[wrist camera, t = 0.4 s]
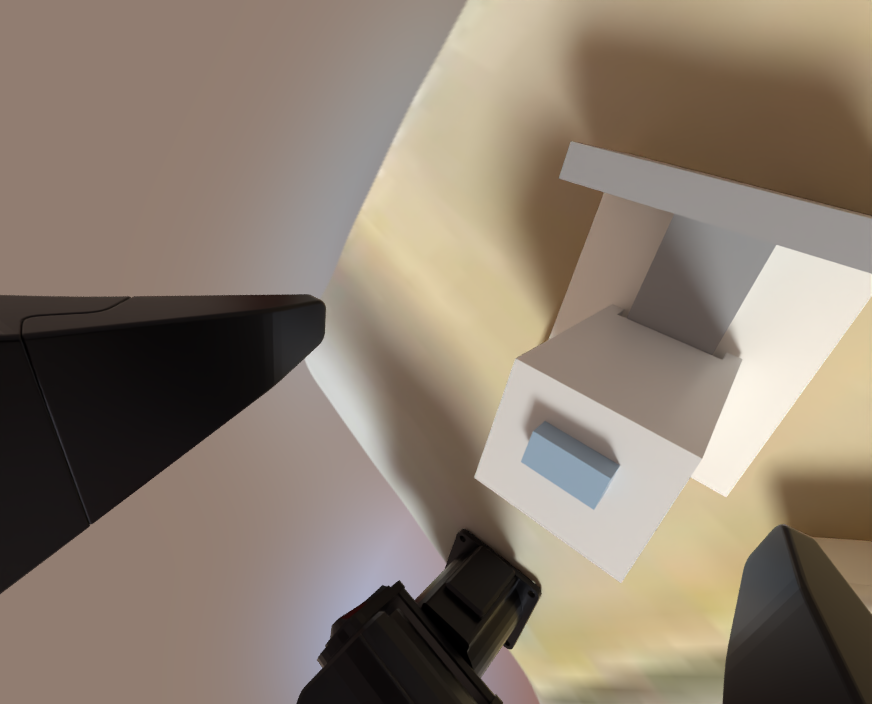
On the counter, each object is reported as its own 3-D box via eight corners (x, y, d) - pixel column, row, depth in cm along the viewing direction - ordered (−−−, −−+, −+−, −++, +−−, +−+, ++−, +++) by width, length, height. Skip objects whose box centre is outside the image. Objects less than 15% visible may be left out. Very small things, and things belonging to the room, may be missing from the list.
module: (683, 453, 21) (612, 601, 13) (573, 393, 23) (461, 488, 16) (742, 359, 18) (696, 473, 11) (612, 304, 21) (502, 366, 13)
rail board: (728, 488, 21) (706, 570, 16) (537, 382, 25) (478, 423, 21) (916, 227, 15) (960, 241, 11) (625, 152, 20) (571, 141, 15)
